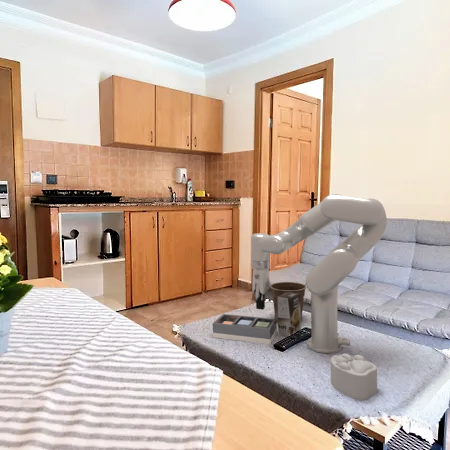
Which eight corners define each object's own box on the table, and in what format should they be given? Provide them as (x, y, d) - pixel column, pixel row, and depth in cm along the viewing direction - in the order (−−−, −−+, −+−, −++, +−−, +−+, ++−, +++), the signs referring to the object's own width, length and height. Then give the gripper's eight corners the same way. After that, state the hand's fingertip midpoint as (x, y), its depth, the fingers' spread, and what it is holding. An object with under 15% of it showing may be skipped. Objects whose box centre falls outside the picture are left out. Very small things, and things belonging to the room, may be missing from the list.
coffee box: (291, 337, 142) (291, 298, 140) (277, 334, 146) (276, 296, 144) (301, 330, 149) (300, 293, 148) (287, 327, 153) (287, 291, 151)
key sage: (270, 328, 144) (269, 322, 144) (267, 332, 140) (267, 327, 140) (258, 327, 146) (258, 321, 146) (255, 331, 141) (254, 325, 141)
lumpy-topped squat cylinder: (360, 403, 97) (360, 372, 96) (322, 383, 107) (322, 356, 106) (381, 389, 103) (381, 361, 102) (343, 372, 113) (343, 346, 112)
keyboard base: (276, 332, 147) (276, 328, 147) (270, 344, 136) (270, 339, 136) (223, 326, 156) (223, 322, 156) (213, 337, 145) (212, 332, 144)
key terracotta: (235, 327, 150) (235, 322, 150) (231, 332, 145) (231, 326, 145) (224, 326, 152) (224, 321, 151) (220, 330, 147) (220, 325, 147)
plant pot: (288, 311, 173) (288, 279, 171) (314, 321, 159) (313, 286, 158) (263, 319, 163) (262, 285, 162) (288, 329, 150) (287, 292, 149)
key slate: (252, 326, 147) (252, 320, 147) (249, 330, 142) (248, 325, 142) (241, 325, 149) (241, 319, 149) (237, 329, 144) (237, 323, 144)
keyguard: (276, 328, 147) (276, 319, 147) (270, 339, 136) (269, 329, 136) (223, 322, 156) (223, 313, 155) (212, 332, 144) (212, 323, 144)
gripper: (264, 268, 132) (264, 315, 134) (273, 261, 146) (273, 304, 148) (245, 267, 135) (246, 313, 137) (256, 260, 149) (256, 302, 151)
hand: (260, 308), depth 142 cm, fingers closed
